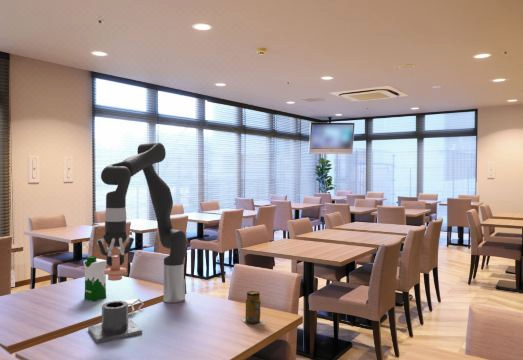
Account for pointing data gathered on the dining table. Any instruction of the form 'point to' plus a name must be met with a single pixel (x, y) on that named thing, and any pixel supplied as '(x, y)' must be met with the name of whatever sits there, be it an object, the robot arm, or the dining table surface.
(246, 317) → the condiment
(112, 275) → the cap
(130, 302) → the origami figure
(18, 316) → the dining table surface
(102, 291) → the milk carton
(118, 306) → the flanged pipe socket
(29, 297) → the dining table surface
